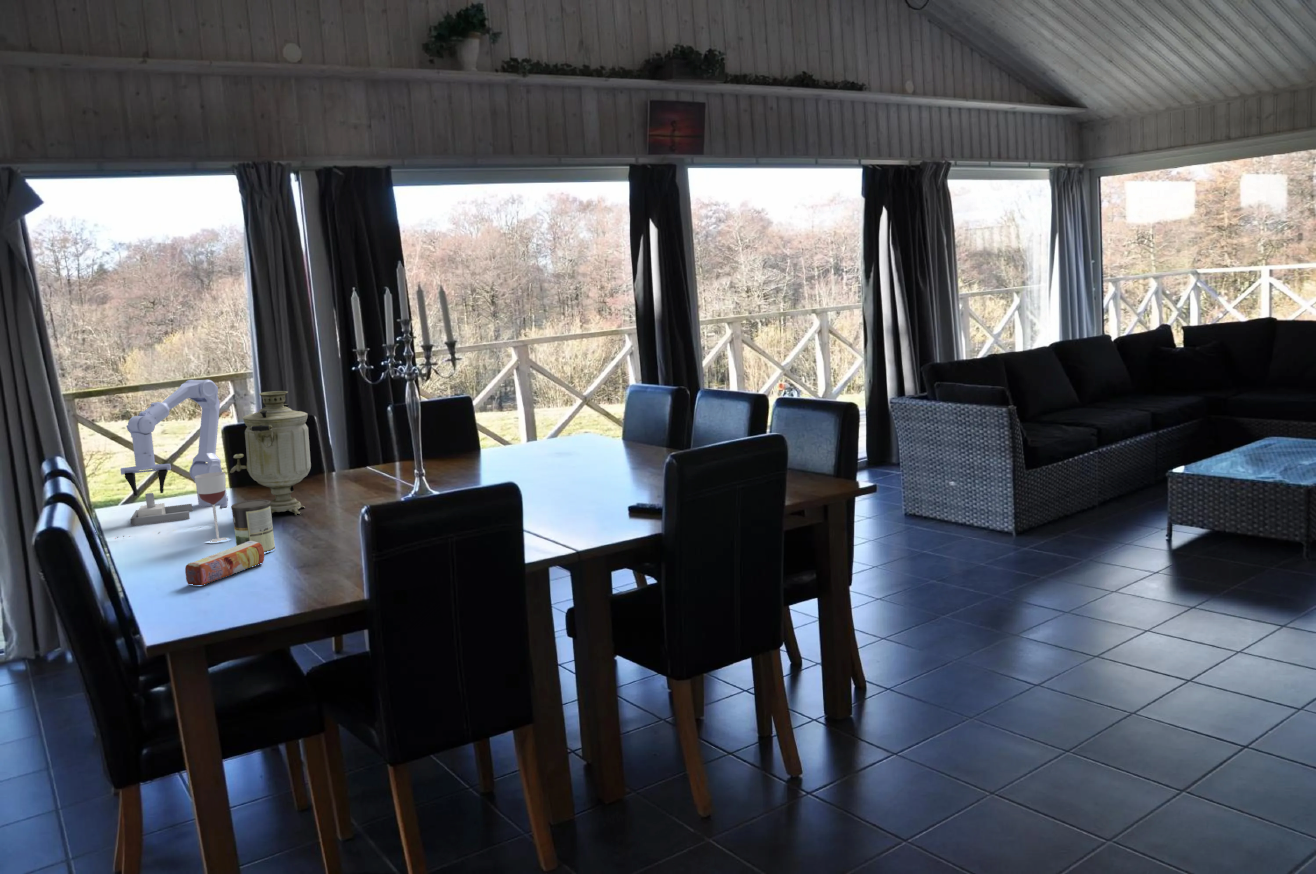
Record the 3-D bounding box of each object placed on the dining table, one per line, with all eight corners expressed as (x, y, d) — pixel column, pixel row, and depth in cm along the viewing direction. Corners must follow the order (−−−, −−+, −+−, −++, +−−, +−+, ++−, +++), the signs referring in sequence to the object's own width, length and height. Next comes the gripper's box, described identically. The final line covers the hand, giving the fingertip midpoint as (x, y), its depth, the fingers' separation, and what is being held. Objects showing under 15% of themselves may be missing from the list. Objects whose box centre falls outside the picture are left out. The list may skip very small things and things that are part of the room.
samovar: (267, 502, 360) (254, 388, 354) (336, 502, 355) (324, 386, 348) (215, 524, 331) (199, 400, 325) (289, 523, 326) (274, 397, 320)
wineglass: (239, 537, 311) (231, 472, 308) (218, 545, 303) (209, 478, 300) (218, 536, 314) (209, 471, 311) (196, 544, 306) (188, 478, 303)
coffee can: (232, 558, 287) (225, 508, 285) (243, 548, 297) (237, 500, 295) (270, 555, 288) (264, 506, 286) (280, 546, 298) (274, 498, 296)
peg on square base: (165, 514, 344) (162, 489, 342) (163, 520, 335) (159, 494, 334) (142, 517, 341) (139, 492, 340) (139, 523, 333) (135, 497, 332)
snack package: (203, 588, 260) (199, 562, 259) (184, 586, 263) (180, 560, 262) (267, 565, 279) (264, 540, 278) (248, 563, 282) (245, 539, 281)
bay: (193, 513, 349) (191, 503, 348) (189, 522, 336) (188, 511, 335) (137, 520, 343) (135, 510, 343) (132, 529, 330) (130, 518, 330)
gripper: (117, 456, 329) (122, 498, 331) (167, 452, 334) (171, 493, 336) (120, 453, 336) (125, 494, 338) (169, 449, 340) (174, 490, 342)
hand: (148, 494), depth 337 cm, fingers open, 7 cm apart
